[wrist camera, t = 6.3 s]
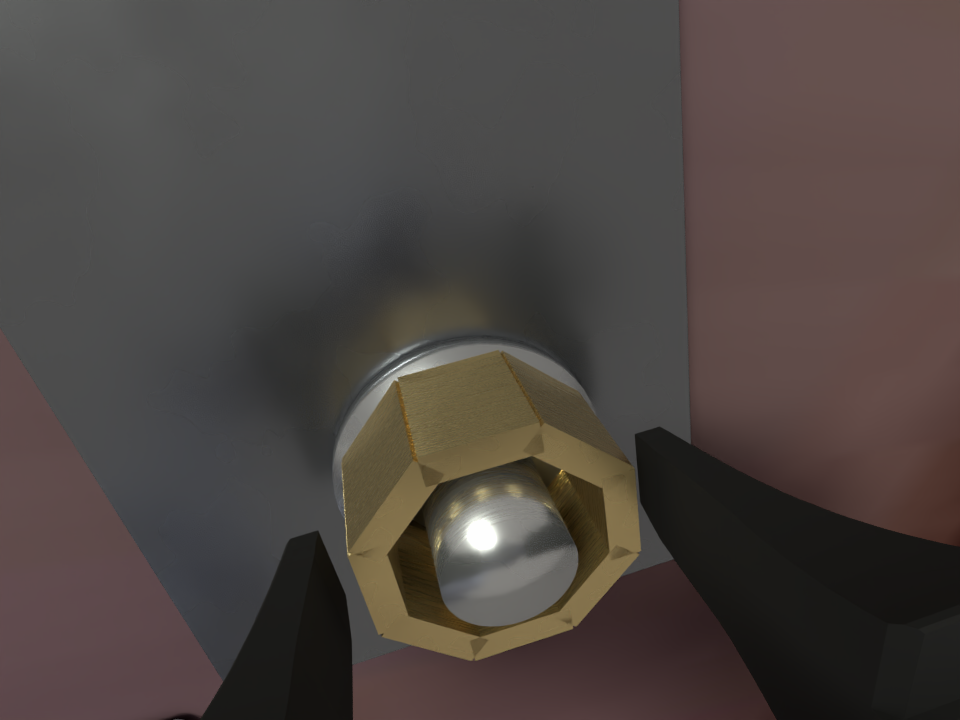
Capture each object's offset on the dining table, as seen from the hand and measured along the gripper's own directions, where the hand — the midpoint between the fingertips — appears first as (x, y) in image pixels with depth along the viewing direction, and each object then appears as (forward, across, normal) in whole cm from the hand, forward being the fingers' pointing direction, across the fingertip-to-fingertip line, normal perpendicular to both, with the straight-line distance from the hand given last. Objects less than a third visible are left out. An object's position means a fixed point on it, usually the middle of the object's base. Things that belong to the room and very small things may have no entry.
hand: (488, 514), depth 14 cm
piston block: (+3, +1, -4) cm, 5 cm away
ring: (+2, 0, 0) cm, 2 cm away
